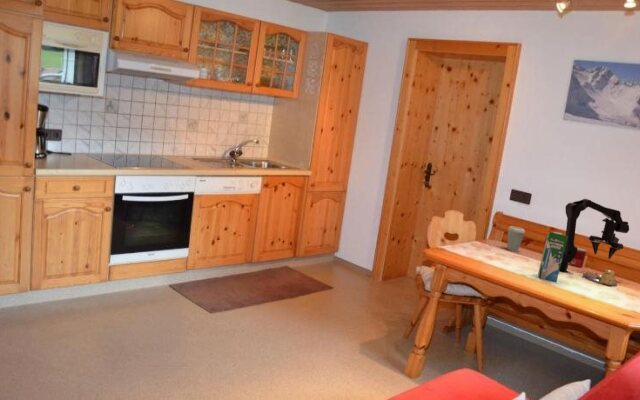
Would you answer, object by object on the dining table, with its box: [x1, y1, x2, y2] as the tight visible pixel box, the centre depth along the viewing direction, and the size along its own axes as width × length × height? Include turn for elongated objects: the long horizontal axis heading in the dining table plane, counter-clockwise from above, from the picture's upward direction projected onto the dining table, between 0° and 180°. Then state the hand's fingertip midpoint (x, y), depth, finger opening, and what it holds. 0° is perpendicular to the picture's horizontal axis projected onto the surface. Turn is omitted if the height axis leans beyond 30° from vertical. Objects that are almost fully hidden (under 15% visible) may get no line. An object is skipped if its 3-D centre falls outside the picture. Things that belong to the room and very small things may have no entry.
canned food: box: [568, 247, 587, 268], centre depth 354 cm, size 8×8×11 cm
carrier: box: [582, 269, 618, 287], centre depth 322 cm, size 20×18×6 cm
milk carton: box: [537, 231, 568, 283], centre depth 301 cm, size 9×9×25 cm
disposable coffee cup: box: [506, 225, 526, 252], centre depth 367 cm, size 11×11×15 cm
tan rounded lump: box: [598, 271, 614, 285], centre depth 315 cm, size 7×7×5 cm
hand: (602, 256), depth 333 cm, fingers open, 9 cm apart
